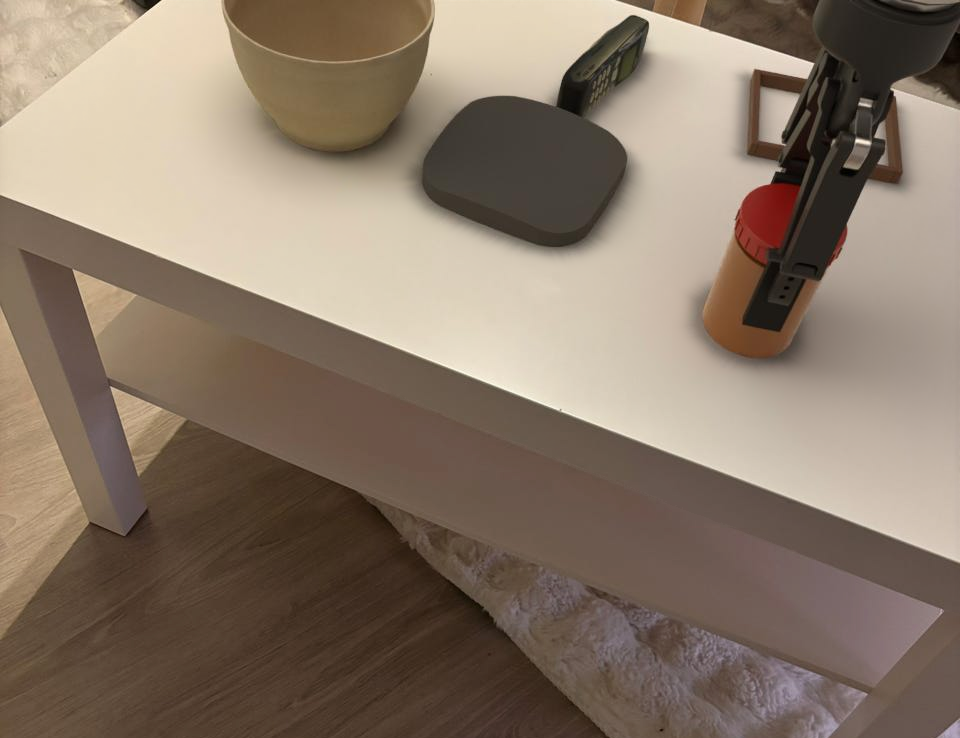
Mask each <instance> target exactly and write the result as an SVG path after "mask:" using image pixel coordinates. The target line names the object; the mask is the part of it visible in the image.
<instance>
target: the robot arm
mask: <svg viewBox="0 0 960 738" xmlns="http://www.w3.org/2000/svg"><path fill="white" fill-rule="evenodd" d="M959 26H960V0H819V1H818V3H817V5H816V8H815V11H814V13H813V17H812V28H813V32H814V35H815V37H816V39H817V41H818V42H819V43H820V45H821V48H820V50H819V53H818V54H817V57H816V59H815V61H814V63H813V66H812V68H811V70H810V72H809V74H808V77H807V78H806V79H807V81H806V83H805V85H804V88H803V90H802V92H801V94H800V95H799V96H798V98H797V101H796V103H795V105H794V107H793V109H792V111H791V114H790V115H789V116H790V117H789V119H788V121H787V123H786V125H785V127H784V130H782V132H781V136H780V139H781V145H784V146H785V147H784V149H783V151H781V153H780V155H779V158H778V161H777V162H778V163H777V165H778V168H780V169H781V170H780V171H778V170H776V171H775V172H774V174H773V176H772V178H771V181H770V183H769V184H775V183H783V184H792V185H797V186H801V187H800V190H799V193H798V196H797V199H796V202H795V205H794V208H793V211H792V213H791V216H790V219H789V222H788V225H787V228H786V231H785V234H784V237H783V239H782V242H781V245H780V248H777V247H774V249H773V248H768V247H767V251H766V256H765V259H766V260H768V262H767V264H766V266H765V269H764V271H763V273H762V275H761V277H760V280H759V282H758V284H757V286H756V288H755V291H754V293H753V295H752V297H751V300H750V302H749V304H748V306H747V308H746V311H745V313H744V315H743V317H742V325H746V326H750V327H755V328H760V329H765V330H770V331H775V332H780V331H781V329H782V327H783V325H784V323H785V321H786V319H787V318H788V316H789V314H790V312H791V310H792V308H793V306H794V304H795V302H796V300H797V298H798V296H799V294H800V292H801V290H802V288H803V286H804V284H805V282H806V280H807V279H808V280H813V281H818V282H819V281H820V280H821V279H822V277H823V276H824V273H825V270H826V268H827V266H828V264H829V261H830V259H831V257H832V255H833V253H834V251H835V248H836V246H837V244H838V242H839V240H840V238H841V235H842V233H843V231H844V229H845V227H846V225H847V226H848V222H849V220H850V218H851V216H852V214H853V212H854V210H855V208H856V205H857V203H858V201H859V199H860V197H861V194H862V192H863V191H864V188H865V186H866V183H867V181H868V180H869V179H868V178H869V176H870V174H871V173H872V171H873V170H874V168H875V167H876V165H877V164H879V162H880V161H881V158H882V156H884V154H885V152H886V145H887V142H886V139H884V138H878V137H875V136H876V134H877V131H878V129H879V127H880V125H881V123H883V122H885V118H886V117H887V114H888V112H889V109H890V107H891V104H892V101H893V97H894V96H895V91H894V90H893V89H892V86H893V84H895V83H897V82H899V81H901V80H904V79H907V78H911V77H917V76H919V75H922V74H924V73H927V72H930V70H932V69H933V68H935V67H936V65H938V63H939V62H940V61H941V59H942V58H943V56H944V54H945V52H946V50H947V49H948V47H949V45H950V43H951V41H952V39H953V37H954V35H955V33H956V31H957V30H958V27H959ZM824 277H825V276H824Z"/></svg>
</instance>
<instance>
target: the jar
mask: <svg viewBox="0 0 960 738" xmlns="http://www.w3.org/2000/svg"><path fill="white" fill-rule="evenodd" d="M765 266H766V265H765V264H764V263H762V262H760V261H759V260H757V259H756V258H754V257H753V256H752V255H750V254H749V253H748V252H747V251H746V250H745V249H744V247H743V246H742V245H741V243H740V242H739V240H738V239H737V235H736V231H735V230H734V229H733V232H732V234H731V237H730V239H729V242H728V245H727V247H726V249H725V252H724V255H723V257H722V260H721V263H720V265H719V267H718V270H717V273H716V274H715V275H716V276H715V278H714V281H713V283H712V286H711V288H710V290H709V293H708V295H707V298H706V301H705V304H704V306H703V309H702V314H701V316H702V317H701V318H702V323H703V326H704V328H705V330H706V332H707V333H708V335H709V336H710V337H711V338H712V340H713V341H714V342H716V343H717V344H718V345H719V346H720V347H722V348H723V349H724V350H727V351H728V352H731V353H733V354H736V355H738V356H742V357H746V358H752V359H765V358H771V357H774V356H776V355H779V354H781V353H783V352H784V351H785V350H786V349H787V348H788V347H789V346H790V345H791V343H792V341H793V340H794V337H795V335H796V333H797V331H798V329H799V327H800V325H801V323H802V321H803V319H804V317H805V316H806V313H807V312H808V309H809V308H810V306H811V304H812V302H813V300H814V299H815V296H816V295H817V292H818V290H819V288H820V286H821V284H822V283H823V281H824V278H825V276H826V274H827V272H828V270H829V269H830V266H827V268H826V270H825V273H824V276H823V277H822V279H821V280H820V281H819V282H818V281H813V280H808V279H807V280H806V282H805V284H804V286H803V288H802V290H801V292H800V294H799V296H798V298H797V300H796V302H795V304H794V306H793V308H792V310H791V312H790V314H789V316H788V318H787V319H786V321H785V323H784V325H783V327H782V329H781V331H780V332H775V331H770V330H765V329H760V328H755V327H750V326H746V325H742V317H743V315H744V313H745V311H746V308H747V306H748V304H749V302H750V300H751V297H752V295H753V293H754V291H755V288H756V286H757V284H758V282H759V280H760V277H761V275H762V273H763V271H764V269H765Z"/></svg>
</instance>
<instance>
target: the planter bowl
mask: <svg viewBox="0 0 960 738" xmlns="http://www.w3.org/2000/svg"><path fill="white" fill-rule="evenodd" d="M221 10H222V11H221V12H222V15H223V18H224V22H225V24H226V27H227V29H228V35H229V40H230V45H231V48H232V52H233V56H234V59H235V62H236V64H237V67H238V69H239V71H240V73H241V76H242V78H243V80H244V82H245V83H246V85H247V87H248V89H249V91H250V92H251V94H252V96H253V97H254V98H255V99H256V101H257V102H258V104H259V105H260V107H262V109H263V110H264V111H265V112H266V113H267V114H268V115H269V117H270V118H271V119H272V120H273V121H275V123H276V125H277V128H279V130H280V131H281V132H282V133H283V134H284V136H286V137H287V138H288V139H290V140H291V141H293V142H295V143H297V144H299V145H300V146H303V147H306V148H308V149H313V150H317V151H321V152H334V153H335V152H349V151H355V150H359V149H362V148H365V147H367V146H370V145H372V144H373V143H375V142H377V141H379V139H381V138H382V137H383V136H384V135H385V133H386V132H387V131H388V129H389V126H390V124H392V122H393V121H394V120H395V119H396V118H397V117H398V116H399V114H400V113H401V112H402V111H403V110H404V108H405V106H406V105H407V104H408V102H409V100H410V99H411V98H412V96H413V94H414V92H415V90H416V88H417V86H418V84H419V81H420V80H421V76H422V74H423V71H424V68H425V66H426V65H425V64H426V61H427V57H428V52H429V46H430V38H431V33H432V30H433V27H434V24H435V23H434V21H435V15H436V6H435V0H221Z"/></svg>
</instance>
